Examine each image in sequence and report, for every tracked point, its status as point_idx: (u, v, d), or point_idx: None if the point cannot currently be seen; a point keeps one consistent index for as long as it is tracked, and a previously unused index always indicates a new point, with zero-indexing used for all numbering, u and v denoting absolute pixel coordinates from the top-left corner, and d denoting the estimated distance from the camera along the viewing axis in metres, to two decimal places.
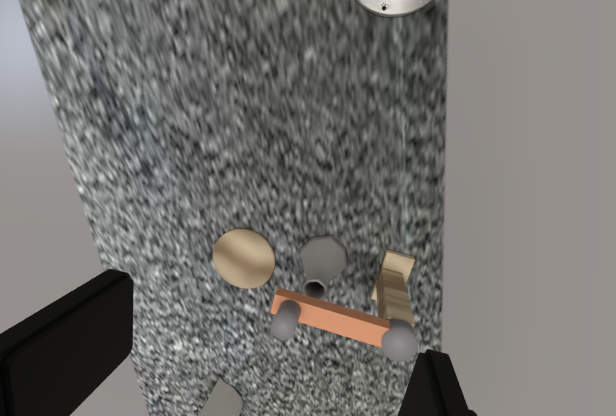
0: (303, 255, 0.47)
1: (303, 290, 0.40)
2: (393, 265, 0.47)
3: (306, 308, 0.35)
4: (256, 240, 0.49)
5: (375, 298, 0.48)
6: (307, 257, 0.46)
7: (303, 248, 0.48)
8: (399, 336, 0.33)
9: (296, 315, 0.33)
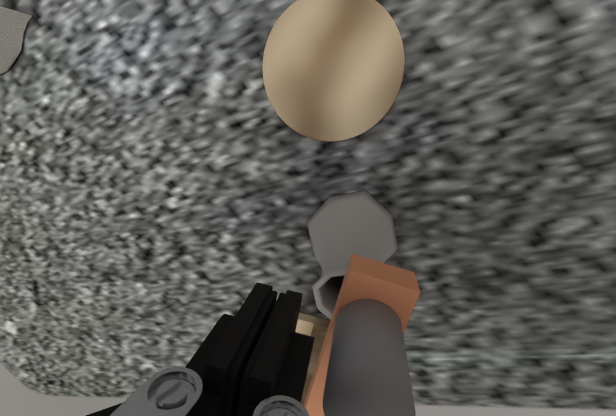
0: (364, 209, 0.23)
1: (340, 274, 0.17)
2: None
3: None
4: (381, 100, 0.23)
5: None
6: (367, 223, 0.23)
7: (370, 201, 0.25)
8: None
9: None
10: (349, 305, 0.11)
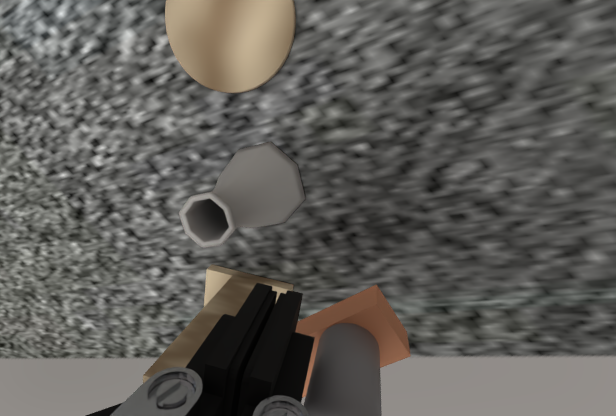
0: (263, 156, 0.24)
1: (201, 197, 0.18)
2: None
3: None
4: (274, 49, 0.24)
5: (208, 275, 0.30)
6: (262, 167, 0.24)
7: (274, 150, 0.26)
8: None
9: None
10: (353, 327, 0.12)
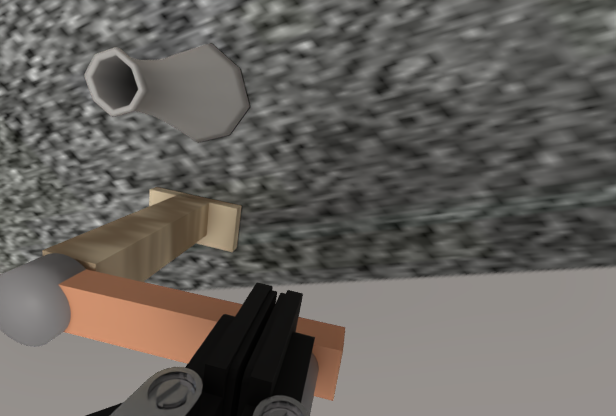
0: (198, 51, 0.23)
1: (106, 54, 0.16)
2: (215, 221, 0.28)
3: None
4: None
5: (152, 196, 0.28)
6: (195, 59, 0.22)
7: (213, 50, 0.24)
8: (31, 336, 0.14)
9: None
10: None
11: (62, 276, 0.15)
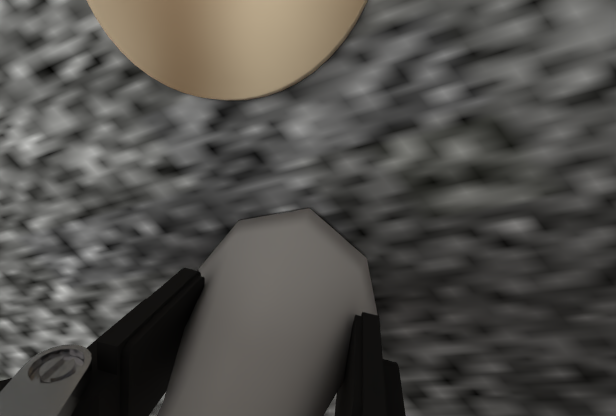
0: (299, 255, 0.10)
1: None
2: None
3: None
4: None
5: None
6: (301, 291, 0.09)
7: (319, 231, 0.11)
8: None
9: None
10: None
11: None
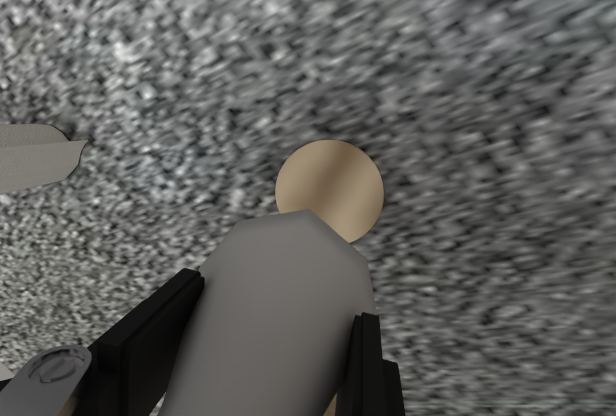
0: (299, 256, 0.10)
1: None
2: None
3: None
4: (366, 219, 0.30)
5: None
6: (301, 292, 0.09)
7: (319, 232, 0.11)
8: None
9: None
10: None
11: None
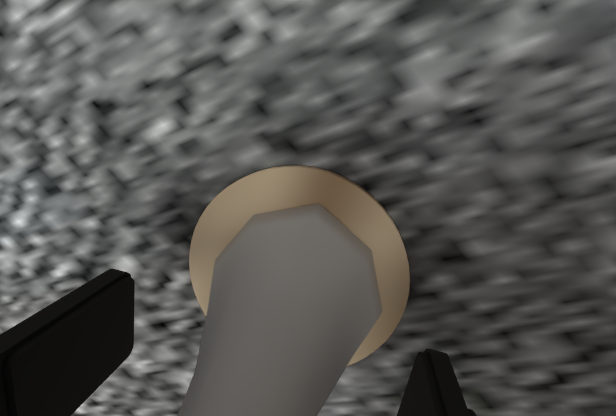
0: (311, 245, 0.11)
1: None
2: None
3: None
4: (372, 328, 0.14)
5: None
6: (313, 277, 0.10)
7: (328, 224, 0.13)
8: None
9: None
10: None
11: None
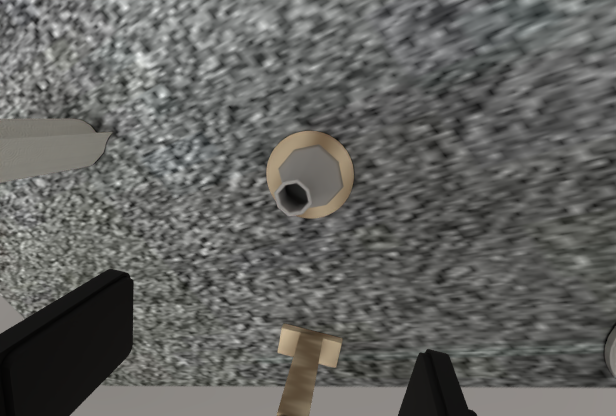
0: (316, 155, 0.33)
1: (291, 182, 0.27)
2: (325, 349, 0.42)
3: None
4: (340, 195, 0.37)
5: (283, 332, 0.43)
6: (317, 163, 0.33)
7: (322, 151, 0.35)
8: None
9: None
10: None
11: None
